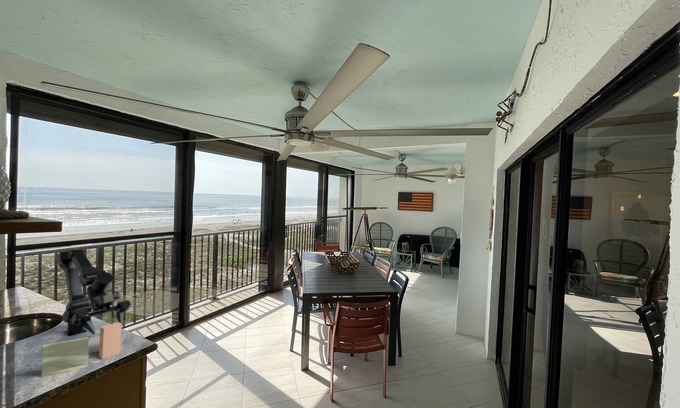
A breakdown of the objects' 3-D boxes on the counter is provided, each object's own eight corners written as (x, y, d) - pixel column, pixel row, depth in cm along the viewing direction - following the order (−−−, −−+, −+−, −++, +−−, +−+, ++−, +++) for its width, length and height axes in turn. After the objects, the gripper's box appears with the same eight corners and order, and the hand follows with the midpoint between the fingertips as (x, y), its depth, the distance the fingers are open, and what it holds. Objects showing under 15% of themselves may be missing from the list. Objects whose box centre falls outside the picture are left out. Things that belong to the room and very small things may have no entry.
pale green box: (46, 364, 109) (48, 334, 109) (88, 355, 116) (90, 327, 116) (41, 377, 101) (43, 345, 101) (87, 366, 108) (88, 337, 108)
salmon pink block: (98, 356, 115) (100, 326, 115) (116, 350, 120) (118, 321, 120) (102, 359, 114) (103, 328, 114) (120, 353, 119) (121, 323, 119)
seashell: (112, 332, 130) (110, 336, 122) (110, 345, 129) (108, 350, 121) (81, 336, 124) (77, 341, 116) (80, 350, 123) (76, 356, 115)
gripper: (75, 291, 113) (86, 327, 107) (130, 281, 129) (141, 312, 123) (66, 307, 117) (76, 342, 111) (120, 295, 133) (131, 326, 127)
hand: (108, 329), depth 118 cm, fingers open, 9 cm apart
